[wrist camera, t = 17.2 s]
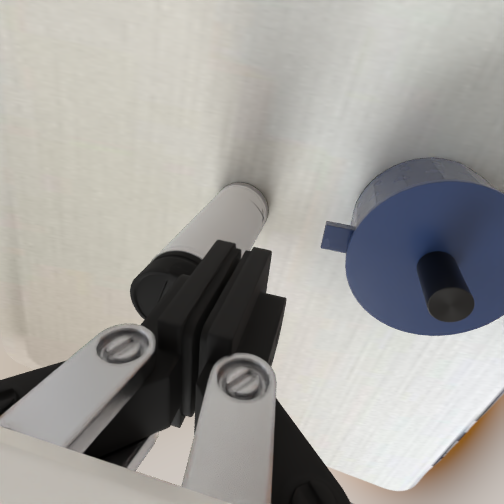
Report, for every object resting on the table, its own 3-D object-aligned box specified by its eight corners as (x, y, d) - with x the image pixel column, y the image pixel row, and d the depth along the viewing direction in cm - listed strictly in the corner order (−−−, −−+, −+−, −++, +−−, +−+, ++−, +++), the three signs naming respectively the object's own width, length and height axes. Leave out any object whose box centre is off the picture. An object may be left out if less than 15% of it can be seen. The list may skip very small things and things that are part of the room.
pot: (342, 142, 36) (339, 164, 29) (552, 175, 33) (607, 210, 26) (316, 259, 43) (308, 301, 36) (489, 296, 40) (519, 349, 33)
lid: (369, 161, 29) (372, 188, 23) (573, 195, 27) (632, 234, 21) (330, 307, 36) (326, 354, 30) (488, 343, 34) (515, 402, 28)
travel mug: (279, 196, 41) (223, 299, 23) (254, 241, 44) (189, 360, 27) (230, 169, 40) (138, 252, 23) (208, 216, 44) (115, 319, 27)
